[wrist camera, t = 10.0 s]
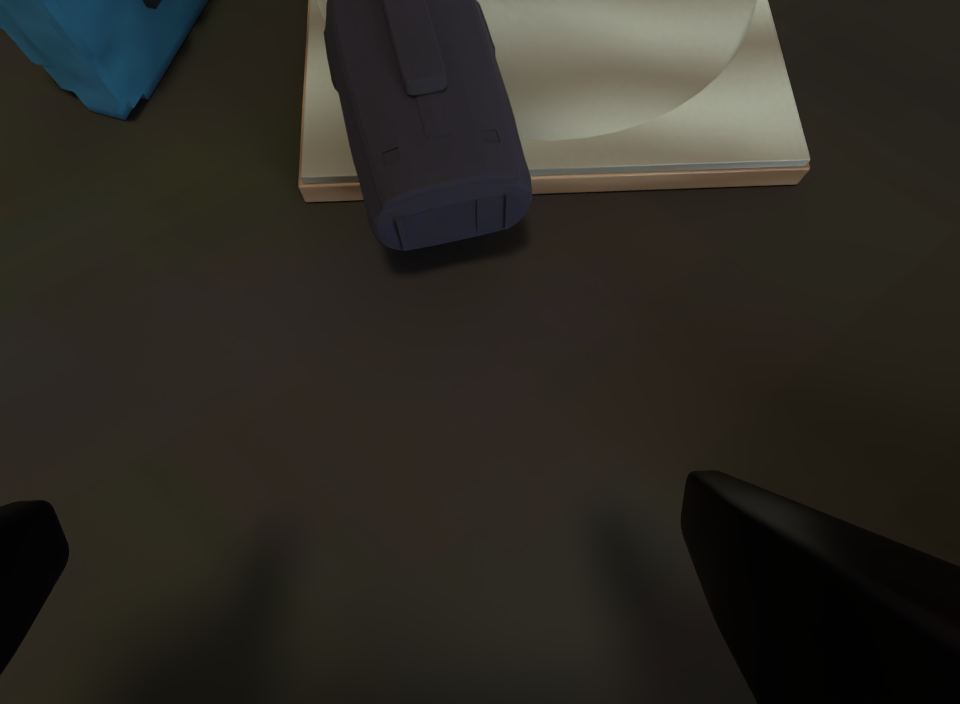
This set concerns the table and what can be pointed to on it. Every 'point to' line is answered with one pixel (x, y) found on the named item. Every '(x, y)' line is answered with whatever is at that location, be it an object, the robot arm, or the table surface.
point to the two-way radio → (426, 119)
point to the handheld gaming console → (102, 44)
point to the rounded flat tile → (608, 97)
